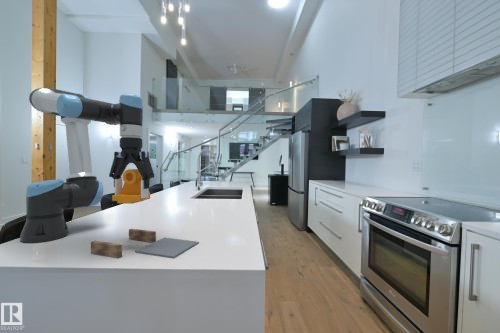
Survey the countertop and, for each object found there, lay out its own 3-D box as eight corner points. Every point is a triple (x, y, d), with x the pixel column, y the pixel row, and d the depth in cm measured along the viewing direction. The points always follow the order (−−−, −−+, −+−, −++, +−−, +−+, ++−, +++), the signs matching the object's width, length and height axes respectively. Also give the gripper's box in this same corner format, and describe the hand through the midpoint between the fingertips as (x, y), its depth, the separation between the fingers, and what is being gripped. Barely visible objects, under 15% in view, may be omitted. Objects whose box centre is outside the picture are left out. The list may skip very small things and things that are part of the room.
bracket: (110, 203, 86) (110, 169, 86) (124, 200, 93) (124, 169, 93) (138, 203, 84) (138, 169, 84) (150, 200, 92) (150, 169, 92)
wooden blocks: (90, 253, 83) (90, 241, 83) (131, 238, 100) (131, 228, 100) (118, 258, 79) (118, 246, 79) (155, 241, 96) (155, 231, 96)
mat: (134, 252, 84) (134, 250, 84) (164, 238, 99) (164, 237, 99) (173, 258, 79) (173, 256, 79) (198, 243, 94) (198, 241, 94)
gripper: (97, 137, 89) (97, 196, 89) (150, 135, 81) (150, 200, 81) (115, 139, 96) (115, 194, 96) (164, 137, 88) (164, 197, 89)
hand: (131, 197), depth 89 cm, fingers closed on bracket, 11 cm apart
